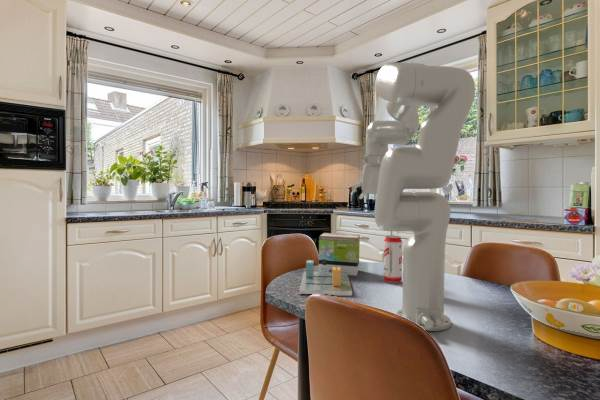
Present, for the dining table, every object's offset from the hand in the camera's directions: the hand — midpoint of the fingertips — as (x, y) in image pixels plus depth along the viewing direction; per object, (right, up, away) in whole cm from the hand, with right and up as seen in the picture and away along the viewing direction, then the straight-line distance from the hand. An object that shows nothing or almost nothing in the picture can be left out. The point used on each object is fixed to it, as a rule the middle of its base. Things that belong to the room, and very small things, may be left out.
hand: (376, 210), depth 121 cm
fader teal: (-23, -23, +2) cm, 33 cm away
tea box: (-11, -25, +15) cm, 31 cm away
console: (-18, -25, -4) cm, 31 cm away
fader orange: (-15, -23, -9) cm, 29 cm away
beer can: (+6, -25, +1) cm, 26 cm away
